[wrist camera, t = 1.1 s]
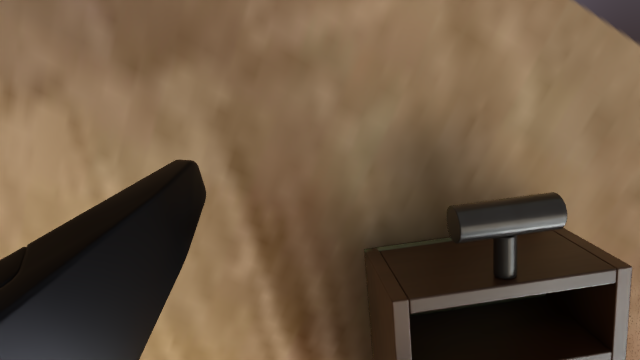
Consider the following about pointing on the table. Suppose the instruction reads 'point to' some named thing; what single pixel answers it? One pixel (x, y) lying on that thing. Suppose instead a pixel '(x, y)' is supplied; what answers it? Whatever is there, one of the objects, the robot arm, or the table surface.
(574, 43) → the table surface
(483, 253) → the shelf
